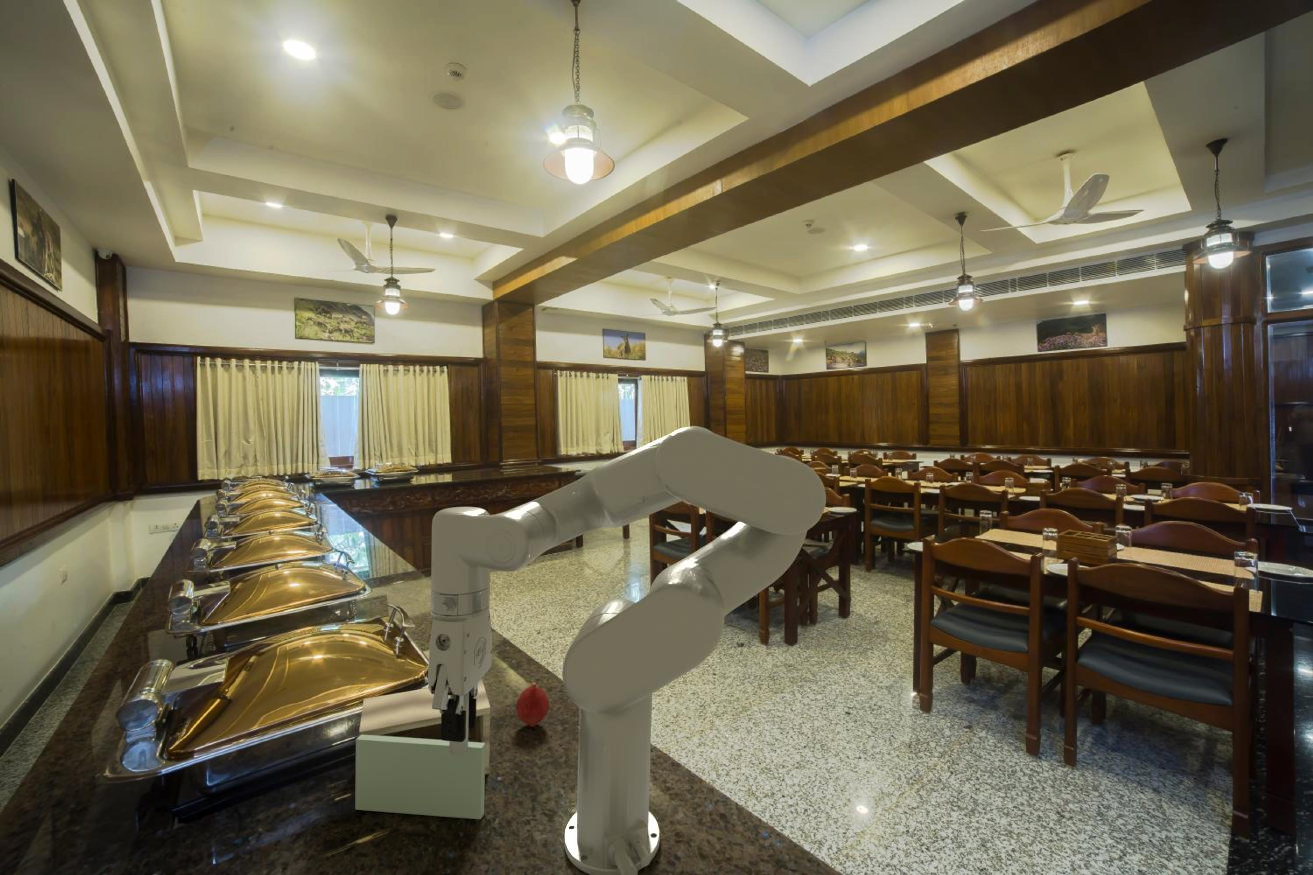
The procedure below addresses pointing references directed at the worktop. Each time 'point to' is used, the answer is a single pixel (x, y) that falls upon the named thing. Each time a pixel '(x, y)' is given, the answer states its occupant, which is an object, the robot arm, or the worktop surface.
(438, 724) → the cupboard
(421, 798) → the cupboard door
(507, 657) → the worktop surface
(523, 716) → the onion
